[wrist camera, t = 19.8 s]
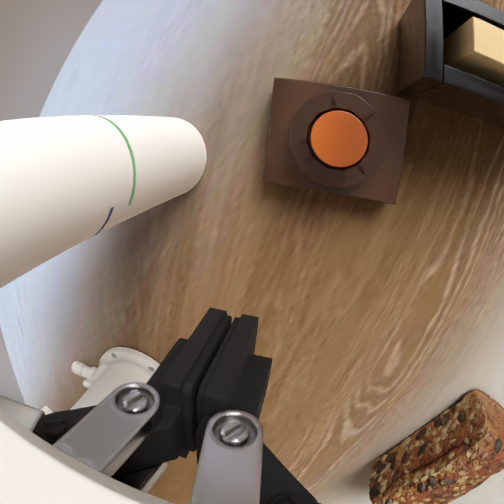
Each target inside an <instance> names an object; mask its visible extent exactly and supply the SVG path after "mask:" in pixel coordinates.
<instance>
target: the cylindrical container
mask: <svg viewBox="0 0 504 504" xmlns="http://www.w3.org/2000/svg"><path fill="white" fill-rule="evenodd" d="M205 165H206V148H205V144H204V141H203V139H202V136H201V135H200V133H199V132H198V130H197V129H196V128H195V127H194V126H193V125H191V124H190V123H188V122H187V121H185V120H182V119H179V118H173V117H157V116H131V115H77V116H53V117H37V118H25V119H14V120H5V121H0V288H1V287H3V286H5V285H6V284H8V283H10V282H11V281H13V280H15V279H16V278H18V277H20V276H21V275H23V274H25V273H26V272H28V271H30V270H32V269H33V268H35V267H37V266H39V265H40V264H42V263H44V262H46V261H48V260H49V259H51V258H53V257H55V256H57V255H58V254H60V253H62V252H64V251H66V250H68V249H69V248H71V247H73V246H75V245H77V244H79V243H81V242H83V241H85V240H87V239H88V238H90V237H92V236H94V235H96V234H98V233H100V232H102V231H104V230H106V229H108V228H110V227H112V226H115V225H117V224H119V223H121V222H123V221H125V220H127V219H129V218H131V217H133V216H136V215H138V214H140V213H142V212H144V211H146V210H148V209H151V208H153V207H155V206H157V205H159V204H161V203H164V202H166V201H168V200H170V199H173V198H175V197H177V196H179V195H182V194H184V193H186V192H188V191H189V190H191V189H192V188H193V187H194V186H195V185H196V184H197V183H198V182H199V180H200V179H201V177H202V175H203V172H204V170H205Z"/></svg>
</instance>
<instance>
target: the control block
mask: <svg viewBox="0 0 504 504" xmlns="http://www.w3.org/2000/svg"><path fill="white" fill-rule="evenodd" d="M409 108H410V100H409V99H405V98H401V97H397V96H392V95H388V94H383V93H379V92H374V91H369V90H364V89H358V88H353V87H347V86H341V85H334V84H327V83H320V82H312V81H304V80H294V79H284V78H274V86H273V96H272V105H271V115H270V125H269V135H268V144H267V154H266V163H265V173H264V182H265V183H272V184H279V185H286V186H292V187H299V188H305V189H312V190H318V191H324V192H330V193H336V194H341V195H347V196H352V197H358V198H363V199H368V200H374V201H379V202H384V203H389V204H393V205H395V203H396V198H397V193H398V187H399V181H400V176H401V170H402V163H403V157H404V150H405V143H406V135H407V127H408V118H409ZM331 111H345V112H348V113H351V114H352V115H354V116H356V117H357V118H358V119H359V120H360V121H361V122H362V124H363V125H364V127H365V129H366V132H367V136H368V145H367V149H366V152H365V154H364V155H363V157H362V158H361V159H360V160H359V161H358V162H356V163H355V164H353V165H351V166H347V167H334V166H331V165H328V164H326V163H324V162H323V161H322V160H321V159H319V158H318V156H317V155H316V154H315V152H314V150H313V148H312V145H311V130H312V127H313V125H314V123H315V122H316V121H317V119H318V118H319V117H321V116H322V115H324V114H325V113H328V112H331Z"/></svg>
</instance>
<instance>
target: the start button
mask: <svg viewBox="0 0 504 504" xmlns="http://www.w3.org/2000/svg"><path fill="white" fill-rule="evenodd" d="M311 145H312V148H313V150H314V152H315V154H316V155H317V156H318V158H319V159H321V160H322V161H323V162H324V163H326V164H328V165H331V166H334V167H347V166H351V165H353V164H355V163H356V162H358V161H359V160H360V159H361V158H362V157H363V155H364V154H365V152H366V149H367V145H368V136H367V132H366V129H365V127H364V125H363V124H362V122H361V121H360V120H359V119H358V118H357V117H356V116H354V115H352V114H351V113H348V112H345V111H331V112H328V113H325V114H324V115H322V116H321V117H319V118H318V119H317V121H316V122H315V123H314V125H313V127H312V130H311Z"/></svg>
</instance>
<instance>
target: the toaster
mask: <svg viewBox="0 0 504 504" xmlns="http://www.w3.org/2000/svg"><path fill="white" fill-rule="evenodd" d="M472 17H476V18H478V19H480V20H483V21H485V22H487V23H489V24H492V25H494V26H496V27H498V28H500V29H502V30H504V12H502V11H500V10H498V9H496V8H494V7H491V6H489V5H487V4H485V3H483V2H480V1H478V0H412V1H411V2H410V4H409V6H408V7H407V9H406V11H405V12H404V14H403V16H402V17H401V19H400V39H399V63H398V79H397V92H396V94H398V95H402V96H406V97H410V98H414V99H418V100H422V101H425V102H429V103H432V104H436V105H439V106H442V107H446V108H449V109H452V110H455V111H458V112H461V113H464V114H467V115H470V116H473V117H476V118H478V119H481V120H484V121H486V122H489V123H492V124H494V125H497V126H499V127H502V128H504V87H502V86H499V85H497V84H495V83H492V82H490V81H488V80H485V79H483V78H480V77H478V76H475V75H472V74H470V73H467V72H464V71H462V70H459V69H456V68H453V67H450V66H447V65H443V56H444V39H445V38H446V37H448V36H449V35H450V34H451V33H453V32H454V31H455V30H456V29H458V28H459V27H460V26H461V25H463V24H464V23H465V22H466V21H468V20H469V19H470V18H472Z"/></svg>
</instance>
